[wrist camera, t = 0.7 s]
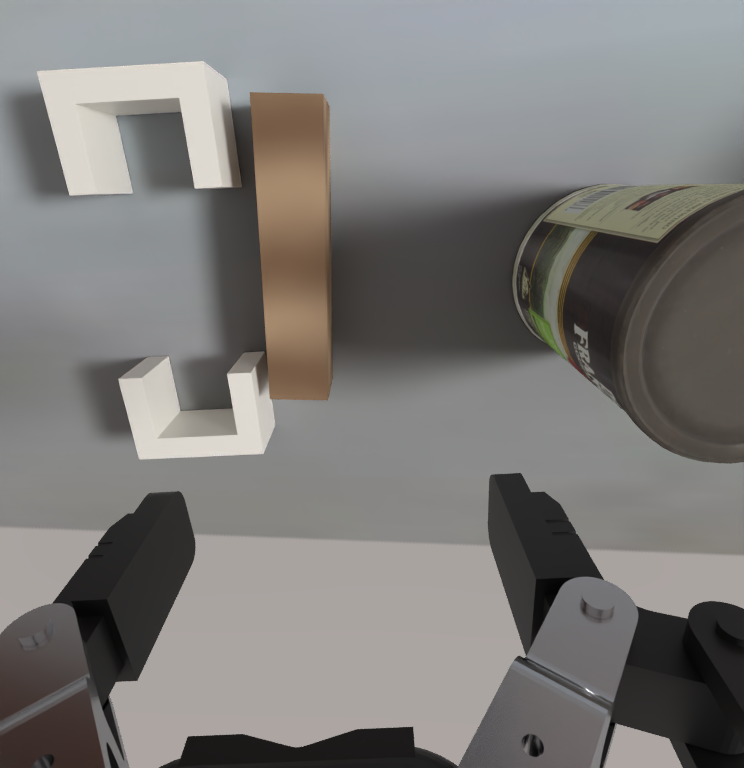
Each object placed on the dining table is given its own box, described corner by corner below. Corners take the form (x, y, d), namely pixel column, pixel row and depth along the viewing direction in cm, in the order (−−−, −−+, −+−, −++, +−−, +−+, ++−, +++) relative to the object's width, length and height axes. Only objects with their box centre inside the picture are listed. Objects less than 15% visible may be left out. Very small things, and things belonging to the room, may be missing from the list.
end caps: (84, 88, 26) (36, 71, 23) (227, 79, 26) (203, 61, 22) (164, 430, 34) (139, 459, 30) (275, 424, 34) (263, 453, 30)
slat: (266, 105, 27) (249, 92, 23) (329, 107, 27) (323, 94, 23) (281, 375, 33) (269, 399, 29) (333, 376, 33) (327, 400, 29)
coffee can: (581, 382, 33) (721, 510, 20) (477, 278, 30) (558, 346, 17) (714, 267, 30) (980, 328, 17) (611, 142, 27) (832, 98, 14)
